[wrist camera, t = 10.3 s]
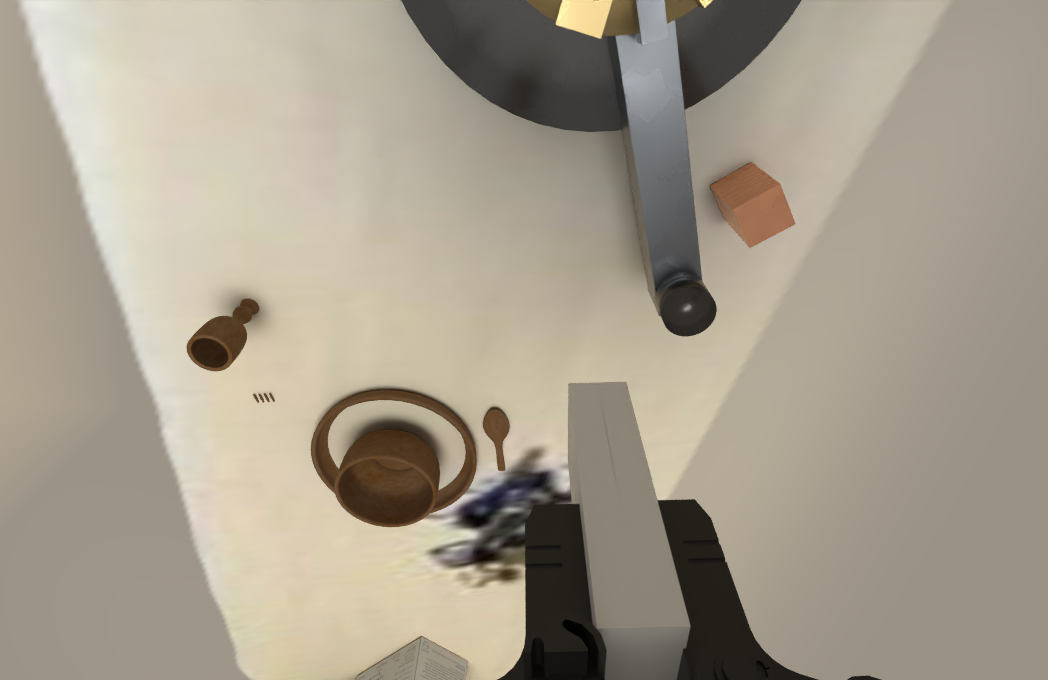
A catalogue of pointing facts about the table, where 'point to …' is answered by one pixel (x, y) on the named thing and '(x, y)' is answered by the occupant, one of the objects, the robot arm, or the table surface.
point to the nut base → (607, 76)
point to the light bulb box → (419, 664)
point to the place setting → (365, 442)
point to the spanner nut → (652, 143)
